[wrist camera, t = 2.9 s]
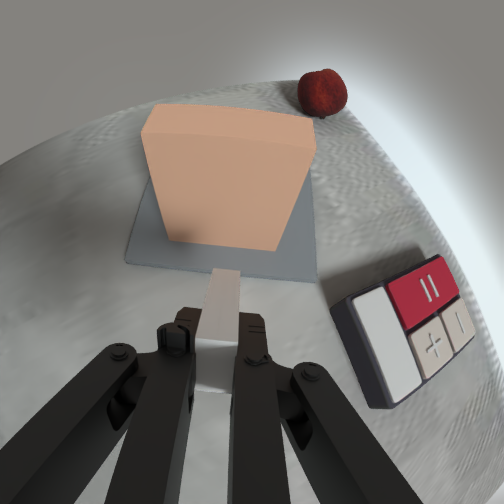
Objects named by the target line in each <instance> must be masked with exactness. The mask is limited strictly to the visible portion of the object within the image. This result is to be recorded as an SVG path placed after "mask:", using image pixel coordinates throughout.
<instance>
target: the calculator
mask: <svg viewBox="0 0 504 504" xmlns="http://www.w3.org/2000/svg"><path fill="white" fill-rule="evenodd" d="M330 314H331V316H332V318H333V321H334V323H335V325H336V328H337V330H338V332H339V335H340V337H341V339H342V342H343V344H344V346H345V349H346V351H347V354H348V356H349V359H350V361H351V363H352V366H353V368H354V371H355V373H356V376H357V378H358V381H359V383H360V386H361V388H362V391H363V394H364V396H365V399H366V401H367V404H368V406H369V408H371V409H393V408H395V407H396V406H397V405H399V404H400V403H402V402H403V401H404V400H406V399H407V398H408V397H409V396H411V395H412V394H413V393H415V392H416V391H417V390H418V389H420V388H421V387H422V386H423V385H424V384H426V383H427V382H428V381H429V380H430V379H431V378H433V377H434V376H435V375H436V374H437V373H438V372H439V371H441V370H442V369H443V368H444V367H445V366H446V365H447V364H448V363H449V362H450V361H451V360H452V359H453V358H454V357H455V356H457V355H458V354H459V353H460V352H461V351H462V350H463V349H464V348H465V346H466V345H467V344H468V343H469V342H470V341H471V340H472V339H473V338H474V336H475V329H474V326H473V324H472V321H471V318H470V316H469V313H468V311H467V308H466V306H465V303H464V301H463V299H462V298H460V295H459V289H458V287H457V285H456V283H455V280H454V278H453V276H452V274H451V272H450V270H449V268H448V266H447V264H446V262H445V260H444V258H443V257H442V256H440V255H439V254H437V255H435V256H433V257H431V258H429V259H427V260H425V261H423V262H421V263H419V264H417V265H415V266H413V267H411V268H409V269H407V270H405V271H402V272H400V273H398V274H396V275H394V276H392V277H390V278H388V279H385V280H383V281H381V282H379V283H377V284H374V285H372V286H370V287H368V288H365V289H363V290H361V291H359V292H356V293H354V294H352V295H349V296H347V297H346V298H344V299H343V300H341V301H340V302H338V303H337V304H336V305H334V306H333V307H331V309H330Z"/></svg>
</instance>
